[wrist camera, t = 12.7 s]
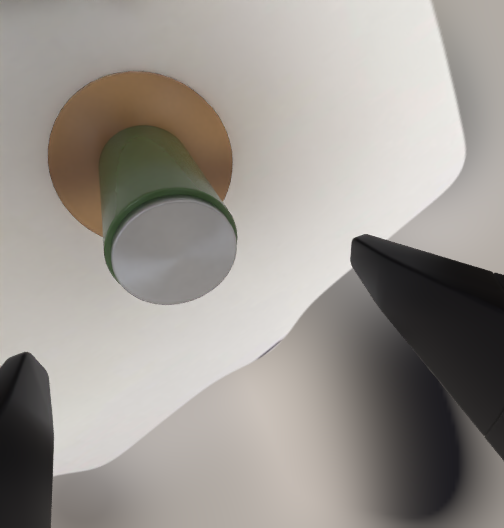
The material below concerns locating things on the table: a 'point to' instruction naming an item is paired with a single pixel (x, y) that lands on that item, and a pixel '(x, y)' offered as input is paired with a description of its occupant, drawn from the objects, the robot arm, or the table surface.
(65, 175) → the coaster
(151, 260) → the can
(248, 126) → the table surface
